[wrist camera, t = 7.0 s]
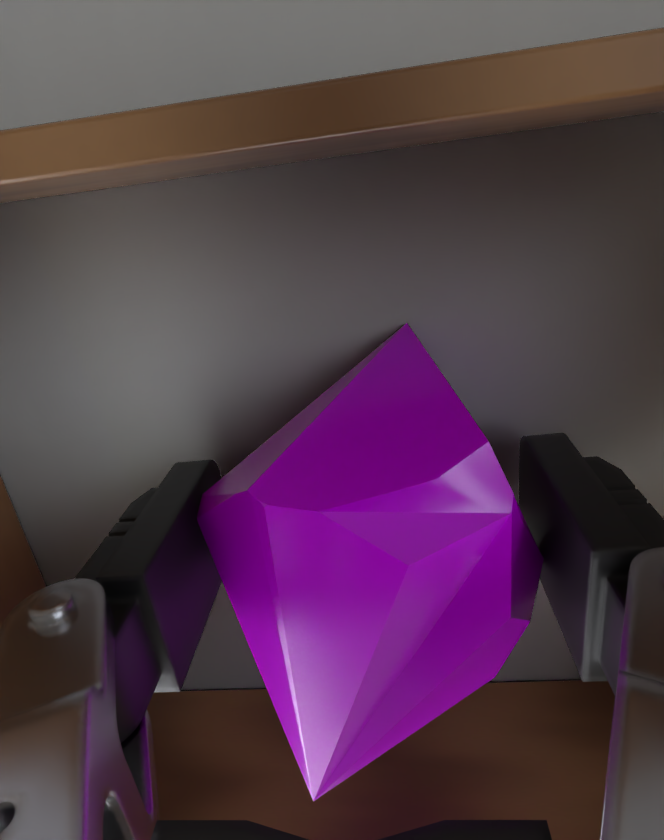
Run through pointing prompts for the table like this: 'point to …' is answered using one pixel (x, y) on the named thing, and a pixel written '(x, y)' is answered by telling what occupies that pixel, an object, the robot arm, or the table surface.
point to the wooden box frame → (252, 708)
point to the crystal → (373, 560)
